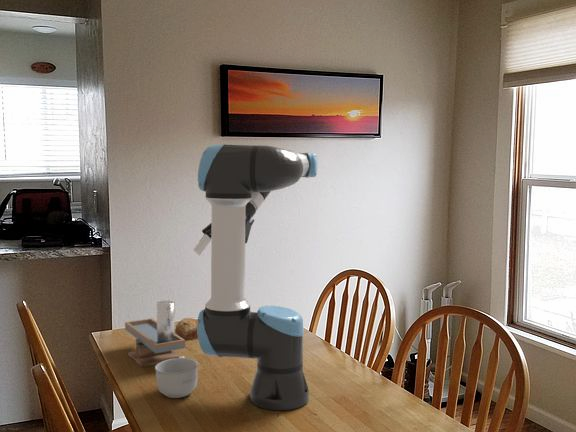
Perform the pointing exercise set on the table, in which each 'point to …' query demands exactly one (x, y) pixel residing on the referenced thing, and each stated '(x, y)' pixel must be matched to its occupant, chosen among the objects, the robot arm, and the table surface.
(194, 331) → the bread roll
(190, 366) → the teacup
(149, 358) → the fulcrum
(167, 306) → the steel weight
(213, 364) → the table surface
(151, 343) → the rectangular tray
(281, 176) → the robot arm
